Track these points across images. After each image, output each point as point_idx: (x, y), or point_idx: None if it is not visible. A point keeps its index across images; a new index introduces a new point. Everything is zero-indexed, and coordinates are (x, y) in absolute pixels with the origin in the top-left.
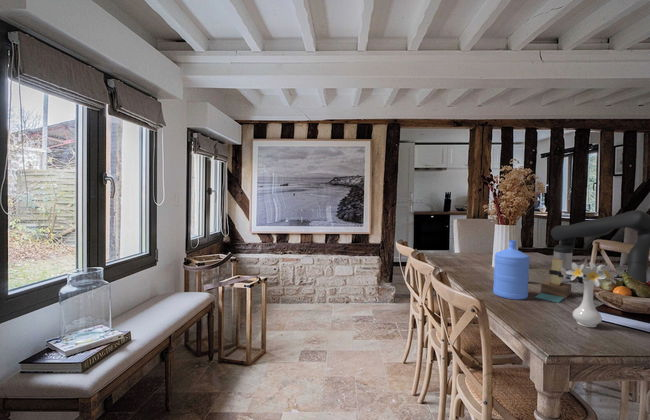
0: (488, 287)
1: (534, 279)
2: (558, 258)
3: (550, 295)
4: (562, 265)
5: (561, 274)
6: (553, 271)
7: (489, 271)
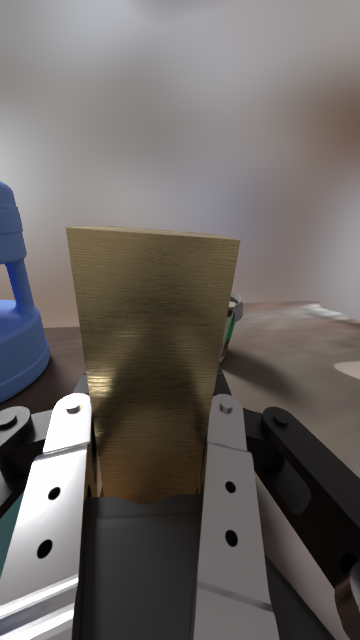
0: (75, 328)
1: (327, 372)
2: (205, 234)
3: (16, 518)
4: (203, 357)
5: (158, 455)
6: (84, 373)
7: (258, 308)
